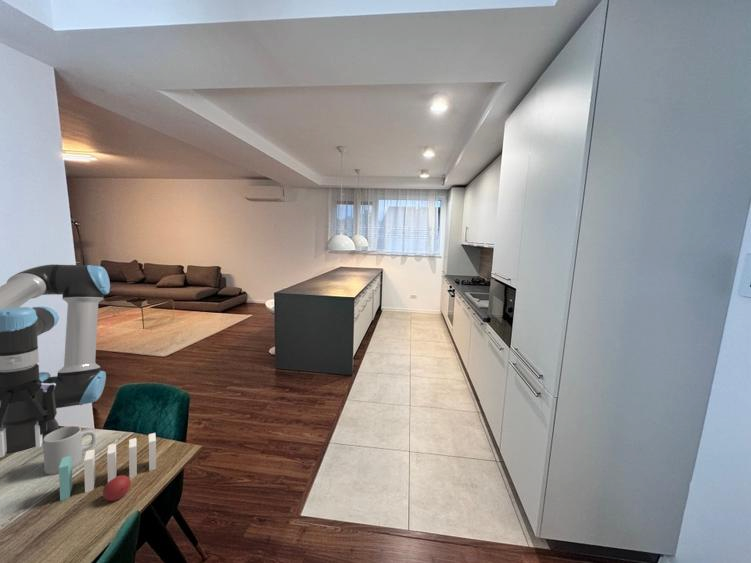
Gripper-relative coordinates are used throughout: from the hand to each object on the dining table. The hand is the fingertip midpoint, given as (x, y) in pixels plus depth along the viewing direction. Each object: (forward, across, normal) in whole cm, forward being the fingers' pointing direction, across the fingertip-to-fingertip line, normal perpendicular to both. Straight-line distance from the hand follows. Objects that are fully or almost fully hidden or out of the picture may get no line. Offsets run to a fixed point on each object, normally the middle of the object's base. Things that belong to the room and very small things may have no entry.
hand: (21, 449), depth 79 cm
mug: (+17, +7, +16) cm, 24 cm away
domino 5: (+17, +28, 0) cm, 33 cm away
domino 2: (+17, +13, 0) cm, 21 cm away
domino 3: (+17, +18, 0) cm, 25 cm away
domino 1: (+17, +8, 0) cm, 19 cm away
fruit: (+17, +20, -10) cm, 28 cm away
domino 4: (+17, +23, 0) cm, 29 cm away
